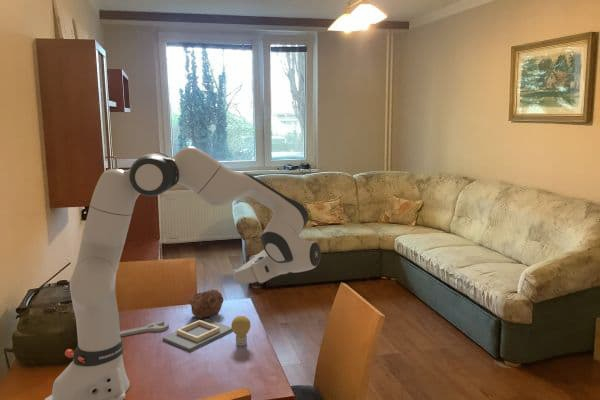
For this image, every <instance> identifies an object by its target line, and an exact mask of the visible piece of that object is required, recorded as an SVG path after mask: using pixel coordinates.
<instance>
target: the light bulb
mask: <svg viewBox="0 0 600 400" xmlns="http://www.w3.org/2000/svg"><path fill="white" fill-rule="evenodd" d="M251 326H252V325H251V320H250V319H249V318H248V317H247V316H245V315H237V316H236V317H234V318H233V320H232V321H231V325H230V327H232V330H233V331H232V332H233V333H234V334H235V345H237V346H239V347H243V346H245V345H246V344H247V343H248V339H247V337H248V335H247V334H248V333H249V331H250V329H251Z"/></svg>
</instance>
